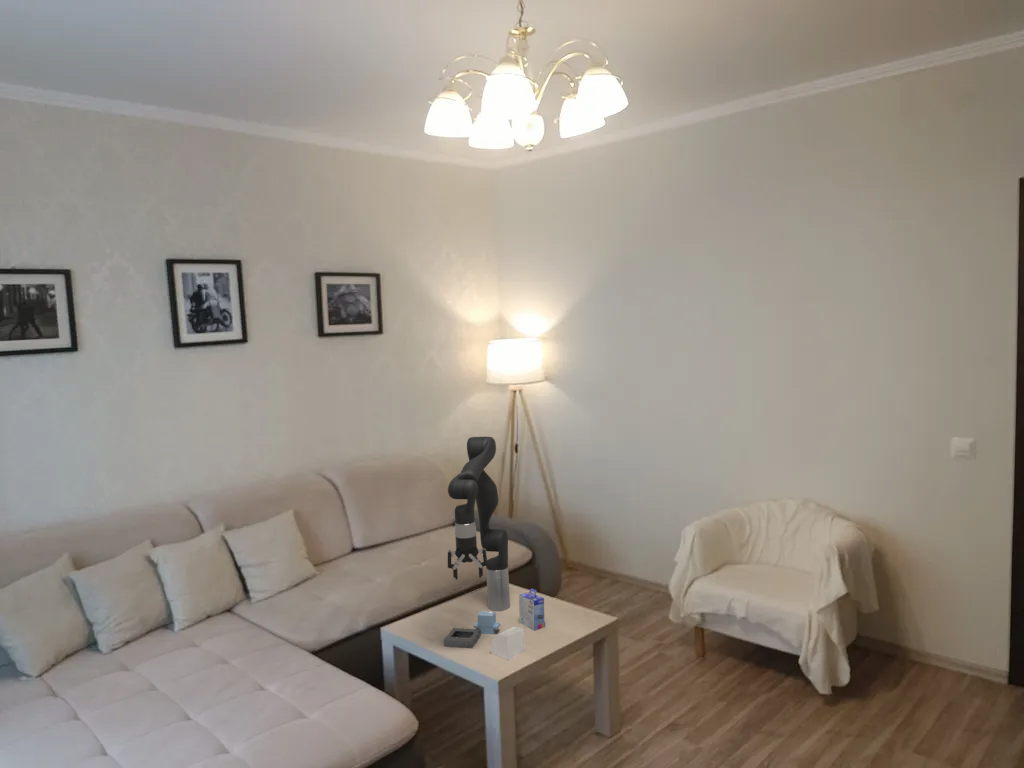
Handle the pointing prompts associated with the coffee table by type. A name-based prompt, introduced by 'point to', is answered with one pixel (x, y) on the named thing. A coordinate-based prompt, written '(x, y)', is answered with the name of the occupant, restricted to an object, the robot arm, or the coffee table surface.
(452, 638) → the tray
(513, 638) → the white sloped wedge
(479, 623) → the servo
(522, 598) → the ink cartridge box
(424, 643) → the coffee table surface
